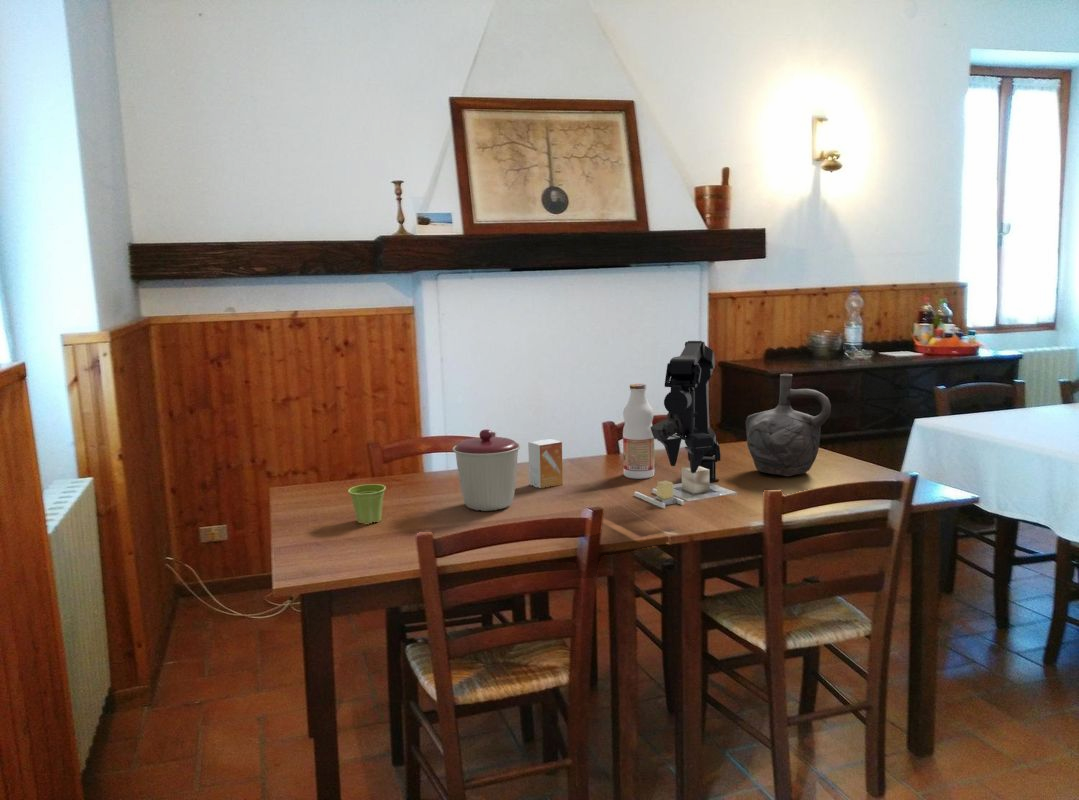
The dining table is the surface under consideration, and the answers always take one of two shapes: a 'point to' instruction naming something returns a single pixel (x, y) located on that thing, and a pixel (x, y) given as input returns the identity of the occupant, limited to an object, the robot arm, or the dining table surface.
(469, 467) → the canister
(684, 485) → the block
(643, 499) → the rail
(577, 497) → the dining table surface
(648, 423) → the fruit juice
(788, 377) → the vessel
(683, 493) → the plate
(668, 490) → the lever
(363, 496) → the plant pot
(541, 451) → the small box
